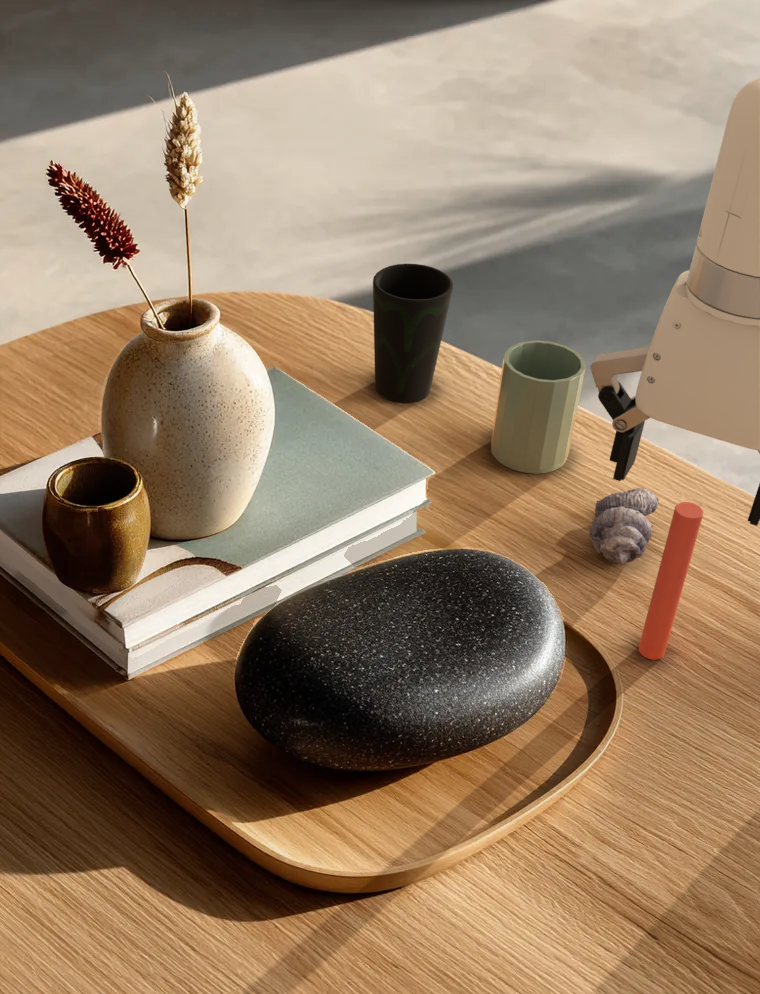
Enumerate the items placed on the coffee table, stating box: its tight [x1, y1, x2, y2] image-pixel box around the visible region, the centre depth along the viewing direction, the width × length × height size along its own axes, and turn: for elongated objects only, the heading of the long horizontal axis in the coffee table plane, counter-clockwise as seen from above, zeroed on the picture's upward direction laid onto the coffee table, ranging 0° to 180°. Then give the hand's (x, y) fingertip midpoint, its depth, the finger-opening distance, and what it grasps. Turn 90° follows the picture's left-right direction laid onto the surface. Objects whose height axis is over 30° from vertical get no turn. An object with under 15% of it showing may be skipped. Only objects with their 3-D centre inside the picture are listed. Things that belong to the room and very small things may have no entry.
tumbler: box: [490, 339, 586, 475], centre depth 123 cm, size 7×7×10 cm
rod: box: [638, 501, 704, 661], centre depth 101 cm, size 2×2×14 cm
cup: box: [372, 263, 454, 404], centre depth 131 cm, size 8×8×12 cm
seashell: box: [588, 487, 659, 565], centre depth 114 cm, size 5×5×10 cm
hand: (688, 492), depth 95 cm, fingers open, 9 cm apart
